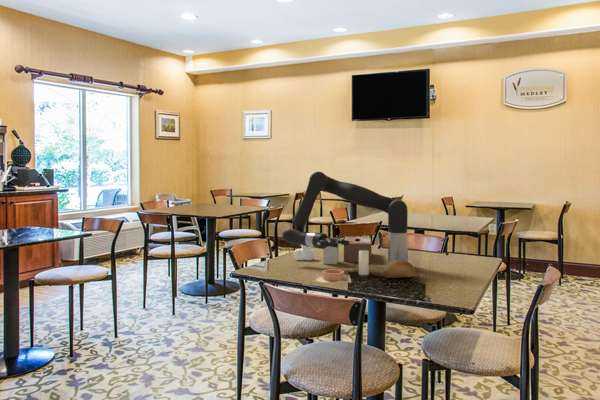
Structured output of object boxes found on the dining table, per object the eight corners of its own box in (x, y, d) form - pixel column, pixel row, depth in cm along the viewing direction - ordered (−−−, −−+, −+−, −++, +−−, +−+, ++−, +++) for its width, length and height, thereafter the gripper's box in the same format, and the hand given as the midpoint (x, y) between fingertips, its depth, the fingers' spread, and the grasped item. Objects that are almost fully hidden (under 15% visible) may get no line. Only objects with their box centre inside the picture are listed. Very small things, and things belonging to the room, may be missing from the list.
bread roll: (419, 279, 214) (419, 261, 213) (386, 280, 212) (386, 262, 211) (411, 274, 223) (412, 257, 223) (380, 275, 221) (380, 258, 221)
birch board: (349, 277, 217) (349, 274, 217) (351, 286, 202) (351, 282, 202) (316, 277, 218) (316, 274, 218) (315, 285, 203) (315, 282, 203)
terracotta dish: (343, 275, 215) (343, 269, 214) (344, 280, 205) (344, 273, 205) (322, 275, 215) (322, 269, 215) (322, 280, 206) (322, 273, 205)
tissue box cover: (371, 262, 252) (371, 243, 252) (343, 262, 254) (343, 243, 253) (370, 253, 278) (370, 236, 277) (344, 253, 280) (344, 236, 279)
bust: (315, 263, 262) (314, 245, 268) (316, 256, 255) (315, 238, 262) (293, 263, 261) (293, 245, 267) (293, 257, 255) (293, 238, 261)
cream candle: (368, 276, 220) (368, 248, 219) (369, 278, 216) (369, 249, 215) (358, 276, 220) (358, 248, 219) (359, 278, 216) (359, 249, 215)
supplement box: (337, 264, 247) (337, 240, 246) (322, 264, 249) (322, 239, 248) (338, 261, 254) (338, 237, 254) (324, 261, 256) (324, 237, 255)
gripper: (307, 234, 230) (333, 237, 219) (326, 231, 241) (352, 234, 230) (306, 249, 231) (333, 254, 220) (325, 246, 241) (352, 250, 230)
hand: (343, 244), depth 225 cm, fingers open, 8 cm apart
